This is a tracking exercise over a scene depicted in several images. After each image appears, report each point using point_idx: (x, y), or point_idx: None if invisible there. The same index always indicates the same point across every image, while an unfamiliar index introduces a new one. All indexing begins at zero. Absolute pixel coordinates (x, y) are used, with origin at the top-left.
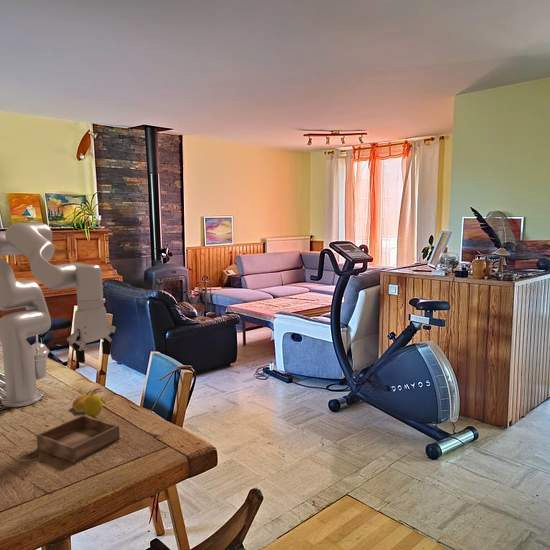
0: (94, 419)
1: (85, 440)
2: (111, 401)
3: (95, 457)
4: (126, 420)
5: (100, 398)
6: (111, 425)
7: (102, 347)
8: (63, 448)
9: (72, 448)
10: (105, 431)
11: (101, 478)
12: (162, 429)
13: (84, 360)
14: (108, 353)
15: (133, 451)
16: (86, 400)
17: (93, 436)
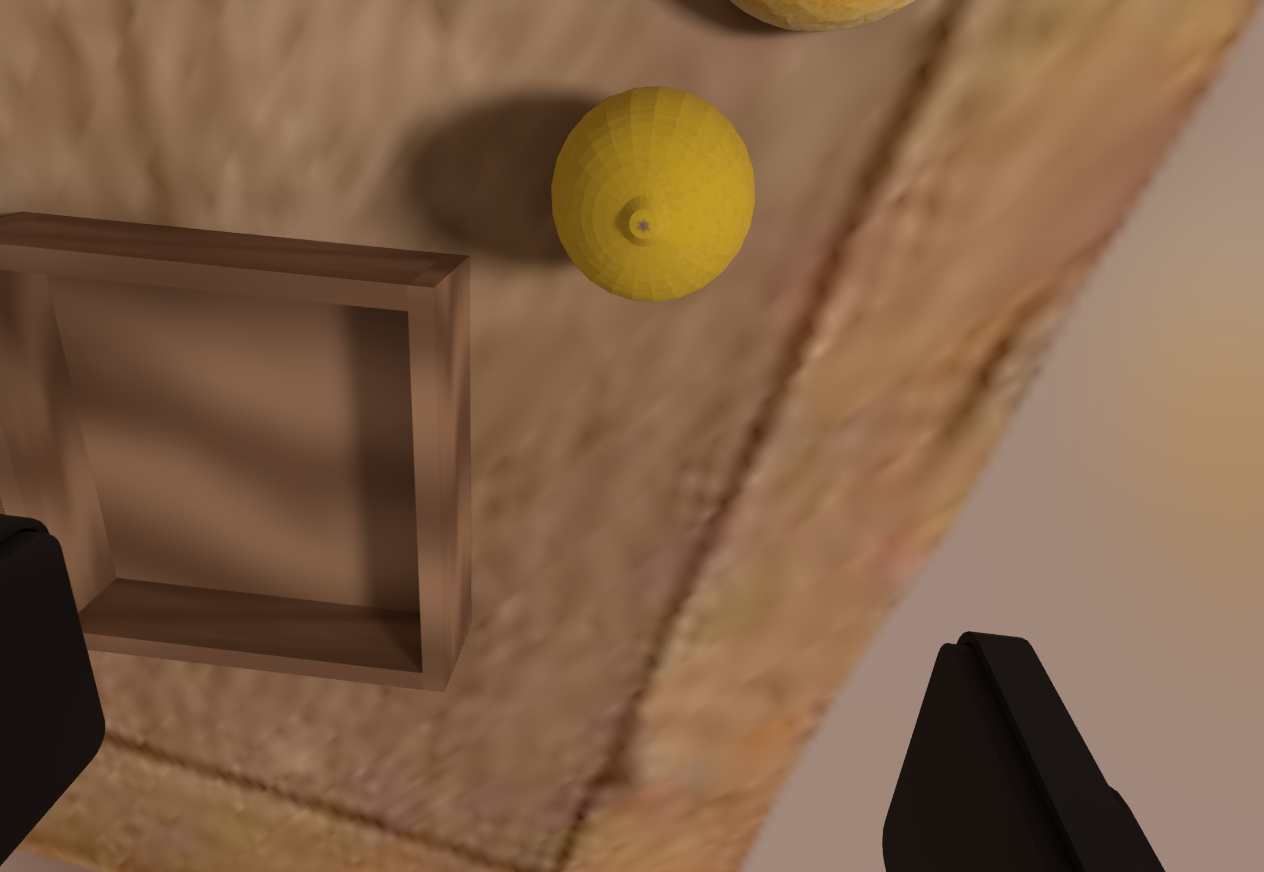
0: (420, 457)
1: (298, 472)
2: (1102, 7)
3: None
4: (730, 485)
5: (709, 277)
6: (421, 641)
7: (1007, 821)
8: None
9: None
10: (327, 668)
11: (133, 786)
12: (708, 768)
13: (46, 792)
14: (890, 865)
15: (403, 771)
16: (565, 186)
17: (370, 479)
